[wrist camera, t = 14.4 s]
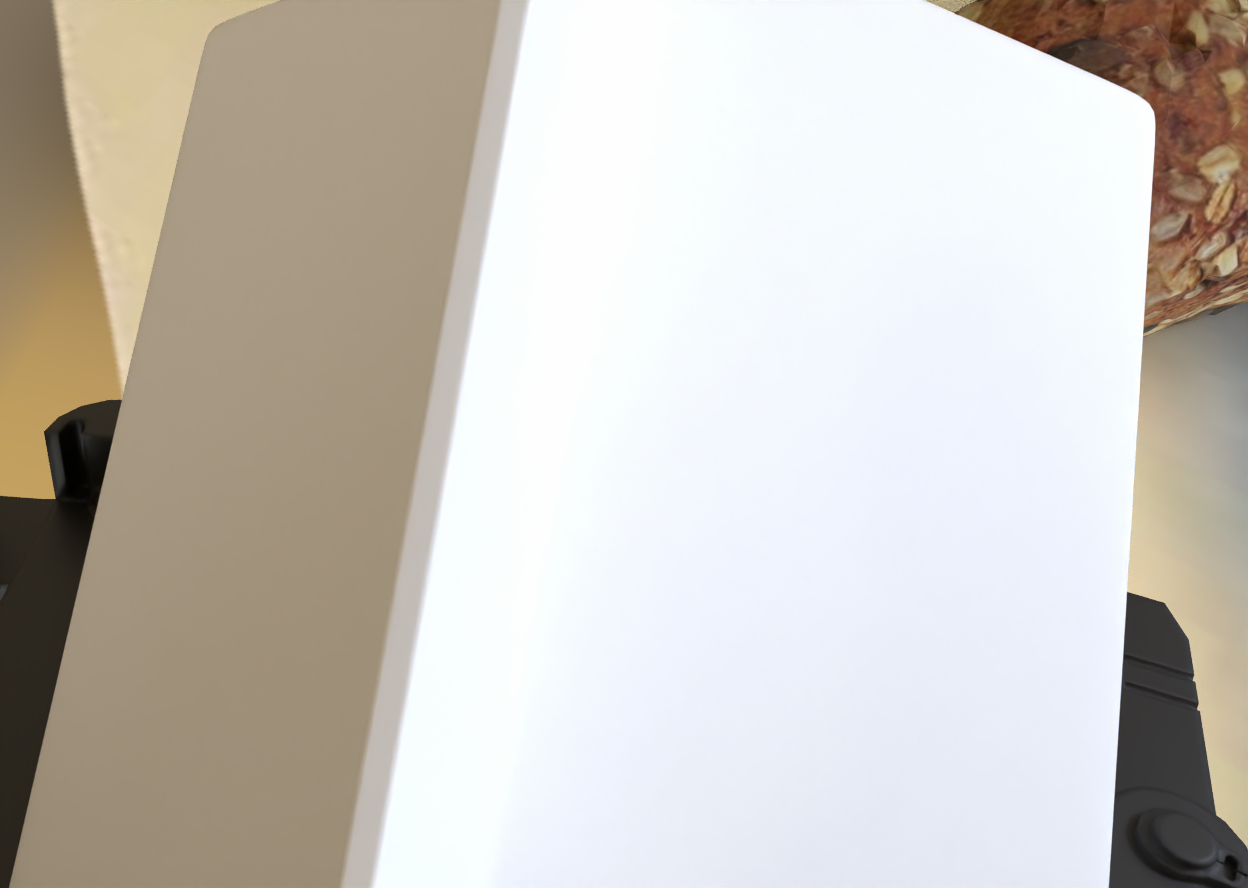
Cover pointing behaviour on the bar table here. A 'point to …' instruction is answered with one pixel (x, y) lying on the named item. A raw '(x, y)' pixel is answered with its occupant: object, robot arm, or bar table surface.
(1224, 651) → the bar table surface
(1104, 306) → the milk
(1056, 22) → the bread
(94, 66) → the bar table surface
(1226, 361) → the bar table surface
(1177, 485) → the bar table surface
